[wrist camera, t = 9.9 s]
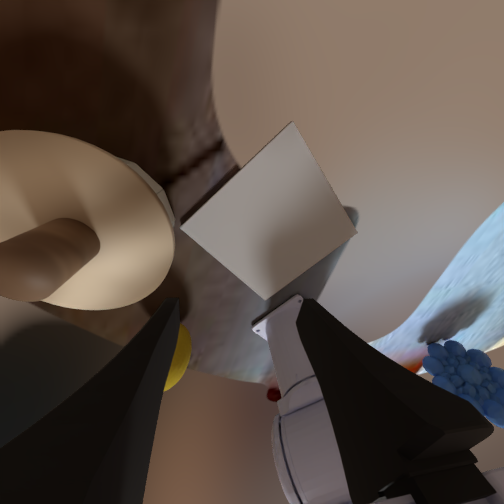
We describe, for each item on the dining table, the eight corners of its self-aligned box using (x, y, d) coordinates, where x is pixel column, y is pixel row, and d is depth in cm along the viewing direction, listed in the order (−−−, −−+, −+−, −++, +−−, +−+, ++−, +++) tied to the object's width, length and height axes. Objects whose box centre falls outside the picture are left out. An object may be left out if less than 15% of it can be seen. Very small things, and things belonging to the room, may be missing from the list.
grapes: (397, 365, 38) (465, 448, 27) (404, 343, 34) (485, 429, 24) (452, 349, 38) (541, 426, 28) (465, 327, 35) (571, 404, 24)
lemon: (146, 304, 22) (113, 376, 15) (196, 306, 23) (187, 374, 16) (148, 337, 24) (120, 412, 17) (193, 337, 26) (184, 408, 19)
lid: (209, 237, 14) (205, 273, 10) (113, 324, 17) (78, 381, 13) (21, 69, 9) (-147, 3, 5) (-79, 233, 12) (-246, 281, 7)
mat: (354, 230, 21) (357, 232, 21) (264, 297, 24) (265, 300, 24) (290, 121, 16) (292, 120, 15) (181, 225, 18) (180, 227, 18)
